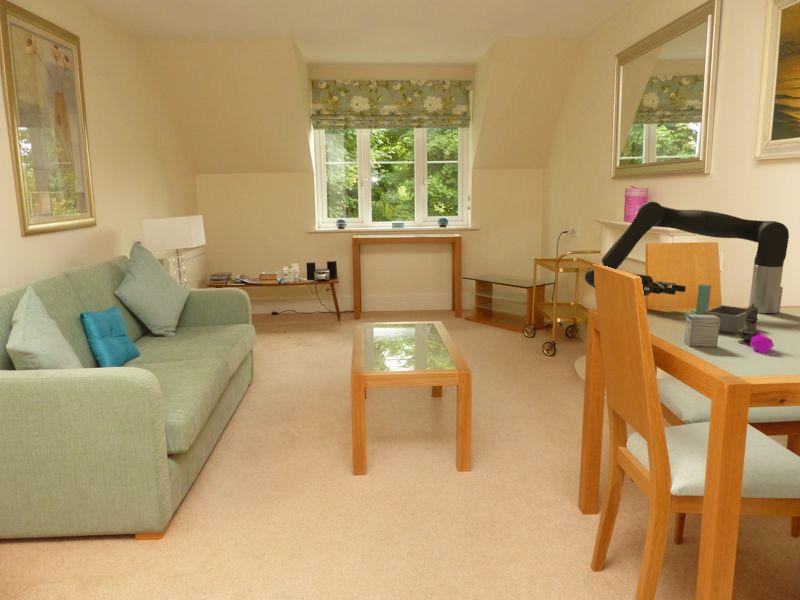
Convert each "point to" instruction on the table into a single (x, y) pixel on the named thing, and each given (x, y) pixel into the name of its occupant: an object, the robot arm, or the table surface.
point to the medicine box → (702, 330)
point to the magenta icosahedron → (761, 343)
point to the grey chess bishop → (749, 326)
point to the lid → (702, 300)
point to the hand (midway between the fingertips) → (680, 290)
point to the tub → (729, 318)
